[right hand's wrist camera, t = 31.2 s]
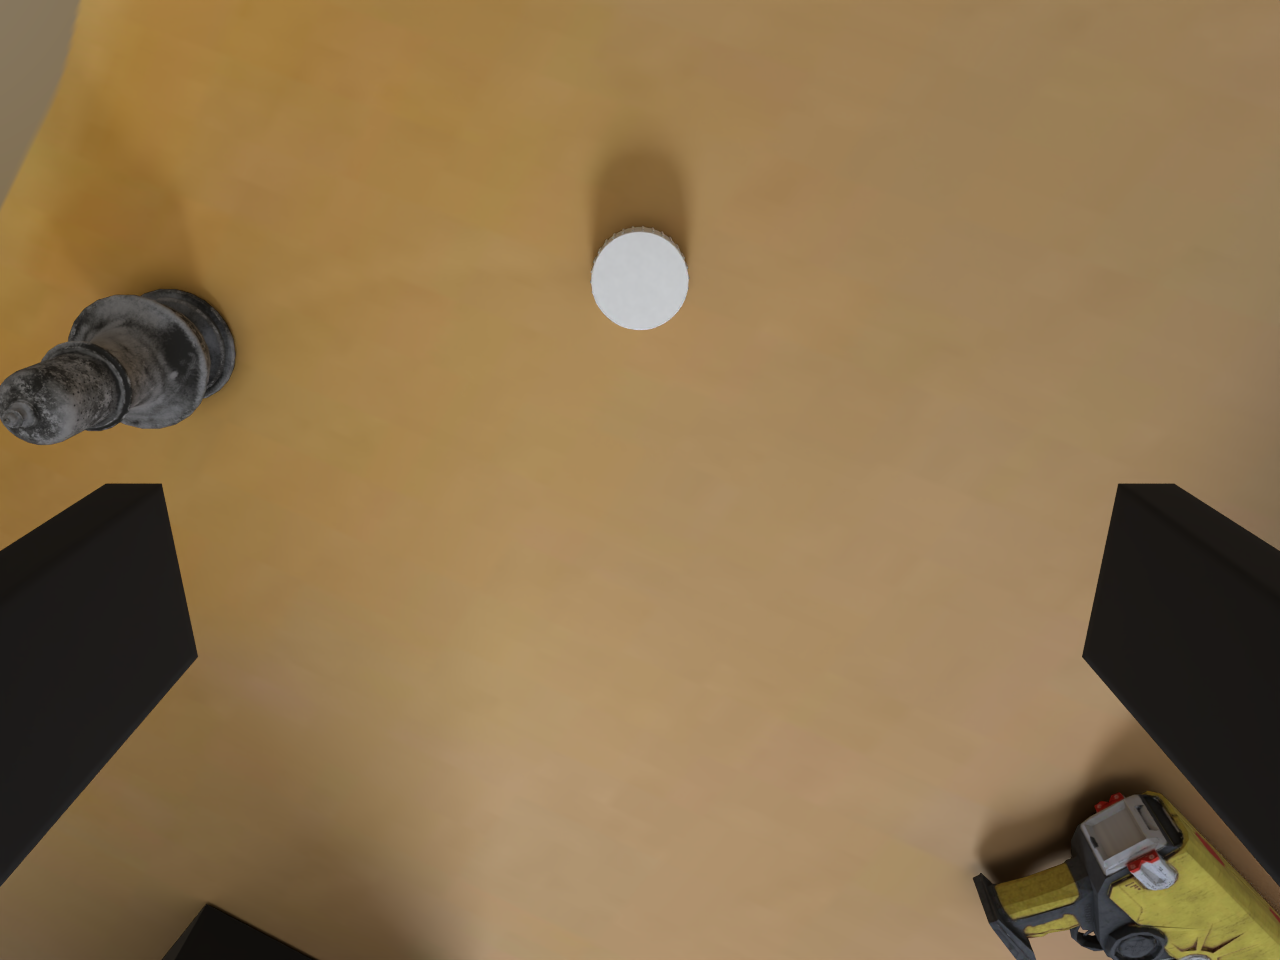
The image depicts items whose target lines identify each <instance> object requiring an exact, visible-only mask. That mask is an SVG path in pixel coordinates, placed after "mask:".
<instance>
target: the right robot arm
mask: <svg viewBox="0 0 1280 960" xmlns="http://www.w3.org/2000/svg"><path fill="white" fill-rule="evenodd" d="M197 657H198V655H197V650H196V645H195V641H194V636H193V631H192V626H191V621H190V617H189V612H188V607H187V602H186V598H185V593H184V588H183V583H182V578H181V574H180V569H179V564H178V559H177V555H176V550H175V545H174V540H173V535H172V531H171V526H170V521H169V516H168V512H167V507H166V502H165V497H164V492H163V488H162V484H105V485H103V486H101V487H100V488H98V489H97V490H95V491H94V492H92V493H90V494H89V495H87V496H86V497H84V498H83V499H81V500H80V501H78V502H76V503H75V504H73V505H72V506H70V507H69V508H67V509H65V510H64V511H62V512H61V513H59V514H58V515H56V516H54V517H53V518H51V519H50V520H48V521H47V522H45V523H44V524H42V525H40V526H39V527H37V528H36V529H34V530H33V531H31V532H29V533H28V534H26V535H25V536H23V537H22V538H20V539H18V540H17V541H15V542H14V543H12V544H11V545H9V546H8V547H6V548H4V549H3V550H1V551H0V886H1V885H2V884H3V883H4V882H5V881H6V879H7V878H8V877H9V876H10V875H11V874H12V873H13V871H14V870H15V869H16V868H17V867H18V866H19V864H20V863H21V862H22V861H23V860H24V859H25V857H26V856H27V855H28V854H29V853H30V852H31V850H32V849H33V848H34V847H35V846H36V845H37V843H38V842H39V841H40V840H41V839H42V838H43V836H44V835H45V834H46V833H47V832H48V831H49V829H50V828H51V827H52V826H53V825H54V824H55V822H56V821H57V820H58V819H59V818H60V817H61V815H62V814H63V813H64V812H65V811H66V810H67V809H68V807H69V806H70V805H71V804H72V803H73V802H74V800H75V799H76V798H77V797H78V796H79V795H80V793H81V792H82V791H83V790H84V789H85V788H86V786H87V785H88V784H89V783H90V782H91V781H92V779H93V778H94V777H95V776H96V775H97V774H98V772H99V771H100V770H101V769H102V768H103V767H104V765H105V764H106V763H107V762H108V761H109V760H110V758H111V757H112V756H113V755H114V754H115V753H116V752H117V750H118V749H119V748H120V747H121V746H122V745H123V743H124V742H125V741H126V740H127V739H128V738H129V736H130V735H131V734H132V733H133V732H134V731H135V729H136V728H137V727H138V726H139V725H140V724H141V722H142V721H143V720H144V719H145V718H146V717H147V715H148V714H149V713H150V712H151V711H152V710H153V708H154V707H155V706H156V705H157V704H158V703H159V701H160V700H161V699H162V698H163V697H164V696H165V694H166V693H167V692H168V691H169V690H170V689H171V688H172V686H173V685H174V684H175V683H176V682H177V681H178V679H179V678H180V677H181V676H182V675H183V674H184V672H185V671H186V670H187V669H188V668H189V667H190V665H191V664H192V663H193V662H194V661H195V660H196V658H197ZM1082 657H1083V658H1084V660H1085V661H1086V662H1087V663H1088V664H1089V665H1090V667H1091V668H1092V669H1093V670H1094V671H1095V672H1096V674H1097V675H1098V676H1099V677H1100V678H1101V679H1102V681H1103V682H1104V683H1105V684H1106V685H1107V686H1108V688H1109V689H1110V690H1111V691H1112V692H1113V693H1114V694H1115V696H1116V697H1117V698H1118V699H1119V700H1120V701H1121V703H1122V704H1123V705H1124V706H1125V707H1126V708H1127V710H1128V711H1129V712H1130V713H1131V714H1132V715H1133V717H1134V718H1135V719H1136V720H1137V721H1138V722H1139V724H1140V725H1141V726H1142V727H1143V728H1144V729H1145V731H1146V732H1147V733H1148V734H1149V735H1150V736H1151V738H1152V739H1153V740H1154V741H1155V742H1156V743H1157V745H1158V746H1159V747H1160V748H1161V749H1162V750H1163V752H1164V753H1165V754H1166V755H1167V756H1168V757H1169V758H1170V760H1171V761H1172V762H1173V763H1174V764H1175V765H1176V767H1177V768H1178V769H1179V770H1180V771H1181V772H1182V774H1183V775H1184V776H1185V777H1186V778H1187V779H1188V781H1189V782H1190V783H1191V784H1192V785H1193V786H1194V788H1195V789H1196V790H1197V791H1198V792H1199V793H1200V795H1201V796H1202V797H1203V798H1204V799H1205V800H1206V802H1207V803H1208V804H1209V805H1210V806H1211V807H1212V809H1213V810H1214V811H1215V812H1216V813H1217V814H1218V815H1219V817H1220V818H1221V819H1222V820H1223V821H1224V822H1225V824H1226V825H1227V826H1228V827H1229V828H1230V829H1231V831H1232V832H1233V833H1234V834H1235V835H1236V836H1237V838H1238V839H1239V840H1240V841H1241V842H1242V843H1243V845H1244V846H1245V847H1246V848H1247V849H1248V850H1249V852H1250V853H1251V854H1252V855H1253V856H1254V857H1255V859H1256V860H1257V861H1258V862H1259V863H1260V864H1261V866H1262V867H1263V868H1264V869H1265V870H1266V871H1267V873H1268V874H1269V875H1270V876H1271V877H1272V878H1273V879H1274V881H1275V882H1276V883H1277V884H1278V885H1279V886H1280V551H1279V550H1277V549H1276V548H1274V547H1272V546H1271V545H1269V544H1268V543H1266V542H1265V541H1263V540H1262V539H1260V538H1258V537H1257V536H1255V535H1254V534H1252V533H1251V532H1249V531H1247V530H1246V529H1244V528H1243V527H1241V526H1240V525H1238V524H1236V523H1235V522H1233V521H1232V520H1230V519H1229V518H1227V517H1226V516H1224V515H1222V514H1221V513H1219V512H1218V511H1216V510H1215V509H1213V508H1211V507H1210V506H1208V505H1207V504H1205V503H1204V502H1202V501H1200V500H1199V499H1197V498H1196V497H1194V496H1193V495H1191V494H1190V493H1188V492H1186V491H1185V490H1183V489H1182V488H1180V487H1179V486H1177V485H1175V484H1118V488H1117V492H1116V497H1115V502H1114V507H1113V512H1112V516H1111V521H1110V526H1109V531H1108V535H1107V540H1106V545H1105V550H1104V555H1103V559H1102V564H1101V569H1100V574H1099V578H1098V583H1097V588H1096V593H1095V598H1094V602H1093V607H1092V612H1091V617H1090V621H1089V626H1088V631H1087V636H1086V641H1085V645H1084V650H1083V655H1082Z"/></svg>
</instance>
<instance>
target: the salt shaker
mask: <svg viewBox="0 0 1280 960" xmlns="http://www.w3.org/2000/svg"><path fill="white" fill-rule="evenodd" d="M235 355H236V353H235V347H234V340H233V337H232V335H231V333H230V330H229V328H228V326H227V324H226V323H225V321H224V320H223V318H222V317H221V316H220V314H219V313H218V312H217V311H216V310H215V309H214V308H213V307H211V306H210V305H209V304H208V303H207V302H206V301H204V300H202V299H200V298H199V297H197V296H195V295H193V294H191V293H188V292H184V291H180V290H176V289H159V290H155V291H152V292H148V293H145V294H143V295H142V296H137V295H114V296H110V297H106V298H103V299H99V300H97V301H95V302H94V303H92V304H91V305H89V306H88V307H86V308H85V309H84V310H83V311H82V312H81V314H80V315H79V316H78V317H77V319H76V320H75V321H74V323H73V326H72V329H71V332H70V334H69V337H68V342H65V343H62V344H59V345H57V346H55V347H54V348H52V349H51V350H49V351H48V352H47V354H46V355H45V356H44V357H43V359H42V361H41V362H40V363H38V364H35V365H32V366H29V367H27V368H24V369H21V370H19V371H16V372H15V373H13V374H12V375H10V376H9V377H8V378H6V379H5V380H4V381H3V383H2V384H1V385H0V419H1V421H2V423H3V424H4V426H5V427H6V428H7V429H8V430H9V431H10V432H11V433H13V434H14V435H15V436H16V437H18V438H20V439H22V440H24V441H26V442H28V443H33V444H37V445H50V444H55V443H59V442H62V441H65V440H66V439H68V438H70V437H72V436H74V435H76V434H78V433H80V432H82V431H84V430H87V431H102V430H105V429H109V428H112V427H113V426H115V425H117V424H118V423H120V422H121V423H123V424H126V425H130V426H134V427H138V428H142V429H160V428H164V427H168V426H172V425H175V424H177V423H179V422H180V421H182V420H184V419H185V418H187V417H189V416H190V415H191V414H192V413H193V412H194V411H195V409H196V408H197V407H198V406H199V405H200V404H201V401H202V399H203V398H207V397H209V396H211V395H212V394H214V393H216V392H217V391H219V390H220V389H221V388H222V387H223V386H224V385H225V384H226V382H227V381H228V380H229V378H230V376H231V373H232V371H233V369H234V364H235Z"/></svg>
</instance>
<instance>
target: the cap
mask: <svg viewBox="0 0 1280 960" xmlns="http://www.w3.org/2000/svg"><path fill="white" fill-rule="evenodd" d="M684 259H685V257H684V255H683V253H681V252H680V249H679V246H678V244H675V243H674V242H673V241H672V238H671V237H668V236H666V235H665V234H664V233H663V231H661V232H660V231H658V230H655V229H654V228H653V227H652V228H647V227H644V226H642V227H634V226H632V228H628V229H625V230H624V229H622V231H620V232H618V233H616V234H615V233H614V234H613V236H612V237H611V238H610V239H609V240H607V239H606V241H605V244H604V245H603V246H602V248H601V247H600V248H599V251H598V255H597V256H595V259H594V262H593V263H594V266H593V267H592V270H591V273H592V276H591V281H590V283H591V285H592V293H593V295H594V298H595V301H596V303H597V305H598V307H599V308H600V309H601V311H602V312H603V313H604V314H605V315H606V317H608V318H609V319H610V320H611V321H613V322H614V323H616V324H618V325H620V326H622V327H625V328H628V329H633V330H647V329H651V328H655V327H658V326H660V325H662V324H664V323H665V322H667V321H668V320H670V319H671V318H672V317H673V316H674V315H675V314H676V313H677V312H678V311H679V309H680V308H681V306H682V304H683V302H684V300H685V299H686V294H687V290H688V279H689V275H688V272H687V269H688V266H687V263H686V262H685V261H684Z"/></svg>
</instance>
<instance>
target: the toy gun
mask: <svg viewBox="0 0 1280 960" xmlns="http://www.w3.org/2000/svg"><path fill="white" fill-rule="evenodd" d="M1094 807H1095V809H1096V812H1097V813H1096V814H1094V815H1093V816H1091V817H1089V818H1088V819H1087V820H1085V821H1084V822H1083V823H1081V824H1079V825H1078V826H1077V828H1076V831H1075V833H1074V835H1073V837H1072V839H1071V848H1072V858H1071V859H1069V860H1066V861H1065V862H1064V863H1063V864H1060V865H1058V866H1055V867H1052V868H1049V869H1047V870H1044V871H1041V872H1038V873H1036V874H1033V875H1030V876H1027V877H1024V878H1020V879H1016V880H1012V881H1008V882H1004V883H1000V884H992V883H991V882H990V881H989V880H988V879H987V878H986V877H985V876H984V875H983V874H982V873H980V875H978V876H976V877H974V878H973V880H974V883H975V886H976V888H977V891H978V894H979V897H980V900H981V902H982V905H983V908H984V911H985V914H986V916H987V919H988V922H989V924H990V926H991V927H992V928H993V930H994V931H995V932H996V934H997V935H998V936H999V938H1000V939H1001V940H1002V942H1003V943H1004V944H1005V945H1006V947H1007V948H1008V949H1009V951H1010V952H1011V953H1012V955H1013V956H1014V957H1015V958H1016V960H1036V958H1035V955H1034V952H1033V950H1032V948H1031V945H1030V942H1029V940H1028V938H1033V937H1042V936H1045V935H1046V934H1048V933H1052V932H1058V931H1064V930H1069V929H1070V933H1071V937H1072V938H1073V939H1074V940H1075V941H1076V942H1078V943H1079V944H1080V945H1081V946H1083V947H1085V948H1088V949H1090V950H1093V951H1101V950H1104V952H1105V953H1106V955H1107V956H1108V957H1110V958H1112V959H1113V960H1280V915H1279V914H1278V913H1277V912H1276V911H1275V910H1274V909H1273V908H1272V907H1271V906H1270V905H1269V904H1268V903H1267V902H1266V901H1265V900H1264V899H1263V898H1262V897H1261V896H1260V895H1259V894H1258V893H1257V892H1256V891H1255V890H1254V889H1253V888H1252V886H1251V885H1250V884H1249V883H1248V882H1247V881H1246V880H1245V879H1244V878H1243V877H1242V876H1241V875H1240V874H1239V873H1238V872H1237V871H1236V870H1235V869H1234V868H1233V867H1232V866H1231V865H1230V864H1229V863H1228V862H1227V861H1226V860H1225V859H1224V858H1223V857H1222V856H1221V855H1220V853H1219V852H1218V851H1217V850H1216V849H1215V848H1214V847H1213V846H1212V845H1211V844H1210V843H1209V842H1208V841H1207V840H1206V839H1205V838H1204V837H1203V836H1202V835H1201V834H1200V833H1199V832H1198V831H1197V830H1196V829H1195V828H1194V827H1193V826H1192V825H1191V824H1190V823H1189V822H1188V821H1187V819H1186V818H1185V817H1184V816H1183V815H1182V814H1181V813H1180V812H1179V811H1178V810H1177V809H1176V808H1175V807H1174V806H1173V805H1172V804H1171V803H1170V802H1169V801H1168V800H1167V799H1166V798H1165V797H1164V796H1163V795H1162V794H1160V793H1156V792H1151V791H1146V792H1145V793H1143V794H1134V795H1132V796H1129V797H1124V796H1123V795H1122V794H1121V793H1120V792H1118V793H1116V794H1113V795H1111V797H1110V800H1109V802H1104V801H1100V802H1099V803H1097V804H1096V805H1095V806H1094ZM1080 926H1081V928H1082V929H1083V930H1088V931H1087V932H1086V933H1085V934H1084V933H1080V932H1078V929H1079V928H1080ZM1093 931H1094V933H1095V935H1094V936H1091V935H1088V934H1089V933H1091V932H1093Z"/></svg>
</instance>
